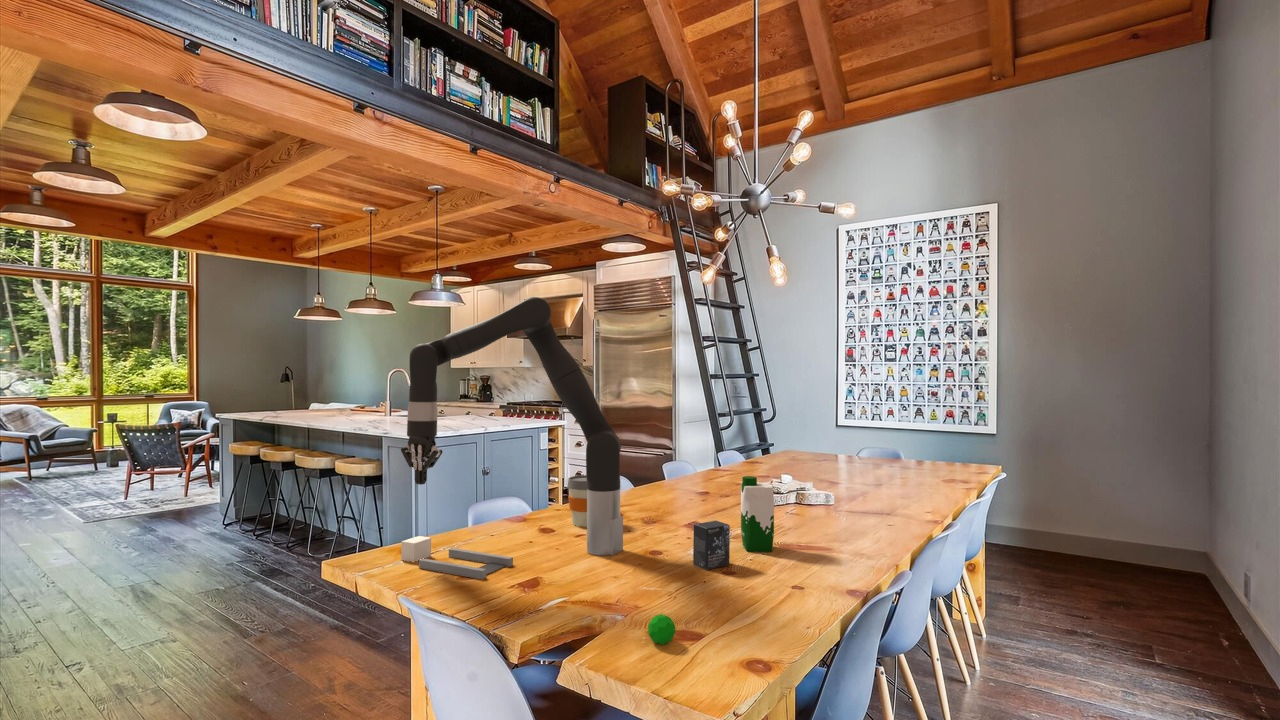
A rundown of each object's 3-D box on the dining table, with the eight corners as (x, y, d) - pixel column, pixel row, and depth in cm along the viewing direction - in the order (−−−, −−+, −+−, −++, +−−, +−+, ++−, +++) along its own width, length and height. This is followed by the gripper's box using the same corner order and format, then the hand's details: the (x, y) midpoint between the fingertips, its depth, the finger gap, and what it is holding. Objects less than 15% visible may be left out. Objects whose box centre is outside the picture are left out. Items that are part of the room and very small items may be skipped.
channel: (512, 565, 153) (513, 557, 154) (481, 579, 143) (482, 571, 143) (452, 555, 162) (452, 547, 162) (419, 568, 151) (419, 560, 151)
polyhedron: (659, 651, 105) (659, 623, 106) (642, 641, 109) (642, 614, 110) (680, 644, 108) (680, 617, 108) (664, 634, 112) (664, 608, 112)
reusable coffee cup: (608, 519, 203) (608, 475, 203) (602, 529, 190) (602, 481, 191) (571, 518, 204) (571, 474, 205) (563, 528, 192) (563, 481, 192)
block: (431, 556, 161) (431, 537, 161) (414, 562, 156) (414, 543, 156) (418, 554, 163) (418, 535, 163) (401, 560, 158) (401, 541, 158)
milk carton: (739, 544, 174) (738, 474, 174) (770, 544, 173) (770, 474, 174) (743, 552, 165) (743, 479, 165) (776, 553, 165) (776, 480, 165)
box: (706, 570, 149) (706, 528, 150) (692, 565, 154) (692, 523, 154) (730, 565, 154) (730, 524, 154) (715, 559, 158) (715, 519, 159)
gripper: (451, 419, 160) (449, 484, 160) (414, 416, 166) (412, 479, 165) (431, 420, 154) (428, 488, 153) (393, 418, 159) (391, 483, 159)
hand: (420, 483), depth 159 cm, fingers closed
